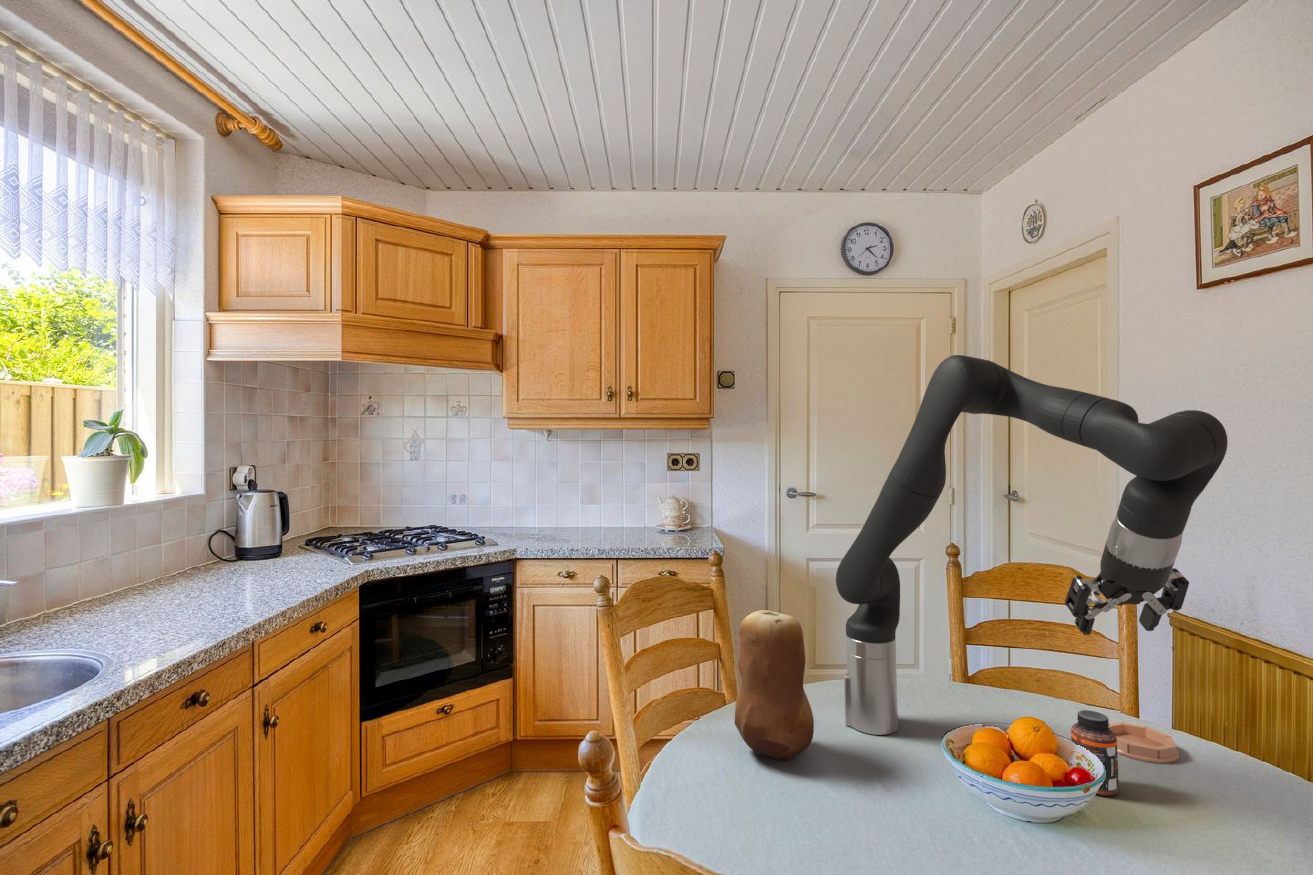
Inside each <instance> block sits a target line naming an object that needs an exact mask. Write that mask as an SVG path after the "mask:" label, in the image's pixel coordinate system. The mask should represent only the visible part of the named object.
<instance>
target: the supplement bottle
mask: <svg viewBox="0 0 1313 875" xmlns="http://www.w3.org/2000/svg"><path fill="white" fill-rule="evenodd" d="M1076 719H1077V722H1075V723H1074V724H1072V726H1071V729H1070V738H1071V740H1070V741H1072V742H1074V743H1075V744H1076V745H1080V746H1082V747H1084V748H1086V750H1089V751H1090V752H1091V753H1092V754H1094V755H1096V756H1097V757H1098V758H1099V759H1100V761H1101V762H1102V763H1103V765H1104V766H1105V770H1106V778H1105V780H1104V782H1103V784H1102V785H1101V786H1100V788H1099V790H1098V794H1096V795H1098V796H1105V797H1107V796H1108V797H1109V796H1115V795H1117V794H1118V793H1119V787H1120V785H1119V784H1120V783H1119V782H1120V781H1119V760H1118V757H1119V756H1118V755H1119V754H1118V753H1117V738H1116V735H1115V734H1114V732H1113V731H1111V730H1110V728H1109V727H1108V726H1109V717H1108V716H1107V715H1105V714H1103V713H1101V712H1099V711H1095V710H1094V711H1093V710H1087V709H1082V710H1078V711H1077V718H1076Z"/></svg>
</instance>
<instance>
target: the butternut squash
mask: <svg viewBox="0 0 1313 875" xmlns="http://www.w3.org/2000/svg"><path fill="white" fill-rule="evenodd" d="M739 641H740V642H739V644H740V645H739V646H740V647H739V654H740V655H739V659H738V663H737V668H738V672H739V675H740V680H741V681H740V686H739V691H738V692H737V695H736V700H735V706H734V707H735V708H734V725H735V727H736V729H737V731H738V733H739V734H740V737H741V739H742V740H743V741H744V743H745V744H746V745H747V747H749V749H750V750H752V751H753V752H756V753H758V754H761V755H765V756H767V757H770V758H771V759H772V758H773V759H772V760H775V759H780V760H779V761H781V760H782V761H783V760H784V761H788V760H789V759H790V758H792V757H795V756H797V755H800V754H802V753H803V752H805V751H806V750H807V749H808V748H809V746H811V743H812V741H813V738H814V733H815V732H814V730H815V725H814V724H815V721H814V719H815V718H814V714H813V709H812V707H811V704H810V702H809V699H808V696H807V694H806V691H805V689H804V677H805V676H804V674H805V670H806V669H805V668H806V650H805V642H804V641H805V640H804V632H803V628H802V625H801V623H800V621H798V620H797V618H795V617H793V616H792V615H788V614H785V613H782V612H781V613H780V612H777V611H773V610H770V609H769V610H767V609H762V610H756V611H754V612H753V611H752V612H751V613H750V614H748V615H747V616H746V617H744V618H743V620H742V621H741V624H740V628H739Z"/></svg>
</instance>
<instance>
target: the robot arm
mask: <svg viewBox="0 0 1313 875" xmlns="http://www.w3.org/2000/svg"><path fill="white" fill-rule="evenodd" d="M961 413H965V414H972V415H979V414H980V415H984V414H986V415H993V416H1000V417H1010V418H1014V419H1017V420H1021V421H1024V422H1026V423H1029V424H1031V425H1033V426H1035V427H1037V428H1038V429H1041V430H1042V431H1044V432H1045V433H1047V434H1050V435H1052V436H1055V438H1056V437H1057V438H1060V439H1061V440H1065V441H1068V442H1070V443H1074V444H1076V445H1079V446H1083V447H1085V448H1088V449H1091V450H1096V451H1097V452H1098V453H1100V454H1101V455H1103V456H1104V457H1105V458H1107V459H1109V460H1110V461H1111V462H1113V463H1115V464H1116V465H1117V466H1119V467H1120V468H1122V469H1124V471H1125V470H1126V471H1127V472H1128V473H1130V474H1132V475H1134V476H1135V477H1134V478H1132V479H1131V480H1130V481H1128V483H1127V484H1126V485H1125V488H1124V489H1123V492H1122V495H1121V497H1120V501H1119V504H1118V508H1117V512H1116V515H1115V516H1114V519H1113V521H1112V523H1111V525H1110V528H1109V530H1108V534H1107V538H1106V541H1105V545H1104V548H1103V551H1102V555H1101V559H1100V566H1099V567H1100V572H1099V573H1098V575H1097V576H1095V578H1094V579H1084V578H1083V577H1082V575H1075V576H1073V578H1072V580H1071V583H1070V586H1069V589H1068V591H1067V594H1066V597H1065V600H1064V604H1065V606H1066V607H1067V609H1068V610H1069V611H1070V613H1071V615H1072V616H1073V617H1074V618H1075V620H1074V624H1075V626H1076V628H1077V629H1078V630H1079V632H1081V633H1082V635H1083V636H1088V635H1089V636H1090V635H1091V633H1092V629H1093V626H1094V624H1095V620H1096V619H1095V617H1097V616H1098V615H1100V614H1101V613H1102V612H1104V613H1108V612H1109V611H1111V610H1113V609H1114V608H1115V607H1118V606H1124V605H1140V604H1141V603H1143V602H1146V603H1144V604H1143V608H1142V610H1141V613H1140V615H1139V618H1138V621H1139V623H1140V625H1141V626H1142V627H1143V628H1144V630H1145V631H1146V632H1153V631H1154V630H1155V628H1156V627H1157V626H1158V625H1160V624H1159V623H1160V622H1161V619H1162V616H1163V615H1165V614H1167V611H1169V610H1172V611H1174V612H1177V611H1180V610H1182V607H1183V605H1184V601H1185V598H1186V596H1187V592H1188V589H1189V585H1190V581H1189V580H1188V579H1187V578H1186V577H1185V576H1184V575H1183V574H1182V573H1181V571H1180V570H1178V569H1177V568H1175V567H1174V565H1175V562H1176V560H1177V557H1178V554H1179V551H1180V549H1181V546H1182V541H1183V536H1184V535H1183V534H1184V530H1185V528H1186V525H1187V523H1188V520H1189V518H1190V515H1191V511H1192V507H1193V505H1194V503H1195V502H1196V500H1197V499H1198V498H1199V496H1200V495H1201V494H1202V493H1203V491H1204V490H1205V489H1206V487H1207V486H1208V484H1209V483H1210V481H1211V480H1212V479H1213V477H1214V476H1215V474H1216V473H1217V471H1218V470H1219V468H1220V466H1221V465H1222V462H1223V461H1224V459H1225V457H1226V453H1227V449H1228V435H1227V431H1226V429H1225V427H1224V425H1223V424H1222V422H1221V421H1220V420H1219V419H1218V418H1216V417H1215V416H1214V415H1212V414H1211V413H1208V412H1206V411H1202V410H1197V409H1189V410H1188V409H1187V410H1183V411H1182V410H1181V411H1177V412H1173V413H1172V414H1168V415H1166V416H1164V417H1162V418H1159V419H1158V420H1154V421H1152V422H1149V423H1144V422H1140V421H1139V415H1138V412H1137V411H1136V409H1135V408H1134V407H1133V406H1131V405H1130V404H1127V403H1126V402H1123V401H1120V400H1115V399H1112V398H1109V397H1104V396H1101V395H1097V394H1092V393H1089V392H1085V391H1080V390H1075V389H1071V388H1065V387H1059V386H1054V385H1049V384H1044V383H1041V382H1039V381H1035V380H1032V379H1029V378H1027V377H1025V376H1022V375H1021V374H1019V373H1016V372H1014V371H1012V370H1009V369H1008V368H1006V367H1004V366H1002V365H1000V364H998V363H996V362H993V361H991V360H988V359H984V358H979V357H973V356H969V355H961V354H954V355H951V356H948V357H946V358H945V359H943V361H941V362H940V363H939V365H937V367H936V369H935V370H934V372H933V374H932V375H931V377H930V380H929V382H928V384H927V386H926V389H925V392H924V395H923V398H922V400H921V403H920V406H919V408H918V411H917V414H916V417H915V419H914V422H913V424H912V426H911V429H910V431H909V434H908V435H907V437H906V439H905V441H904V444H903V446H902V449H901V450H900V453H899V455H898V457H897V459H896V461H895V463H894V464H893V466H892V468H891V469H890V471H889V474H888V475H887V478H886V480H885V482H884V483H883V486H882V488H881V490H880V492H879V494H878V497H877V498H876V500H875V502H874V504H873V507H872V509H871V510H870V512H869V514H868V516H867V518H866V520H865V522H864V524H863V526H862V528H861V530H860V532H859V533H858V534H857V536H856V538H855V540H854V541H853V542H852V544H851V545H850V547H849V548H848V550H847V552H846V553H845V554H844V556H843V558H842V559H841V561H840V563H839V565H838V567H837V570H836V574H835V584H836V589H837V593H838V594H839V596H840V597H841V598H842V599H843V600H844V601H845V602H847V603H849V604H852V605H858V606H857V608H856V610H855V611H854V613H853V614H852V615H851V616H850V617H848V618H847V620H846V622H845V640H846V641H845V642H846V645H845V646H846V648H845V650H846V674H845V675H844V679H843V681H844V713H845V714H844V715H845V716H844V717H845V722H844V723H845V726H847V727H851V728H853V729H855V730H857V731H859V732H861V733H864V734H870V735H874V736H875V735H876V736H877V735H879V736H883V735H885V736H887V735H890V734H894V733H895V732H897V731H898V729H899V722H898V721H899V713H898V711H899V710H898V679H897V677H898V676H897V643H896V641H897V639H896V632H897V631H896V630H897V628H898V626H899V623H900V616H901V615H900V614H901V613H900V612H901V579H900V573H899V570H898V567H897V566H896V564H895V562H894V561H893V559H892V558H890V557H891V555H893V554H892V553H893V552H894V551H895V550H896V549H897V548H898V547H899V546H900V545H901V544H902V543H903V542H904V541H905V540H906V539H907V538H908V537H909V536H911V535H912V534H913V533H914V531H916V530H917V529H918V528H919V527H920V526H921V525H922V524H923V523H924V522H925V520H927V518H928V517H929V515H931V513H932V511H933V509H934V507H935V505H936V503H937V502H938V500H939V498H940V497H941V494H942V492H943V490H944V488H945V486H946V480H947V465H946V463H947V462H946V443H947V441H948V437H949V435H950V433H951V431H952V429H953V427H954V424H955V423H956V421H957V419H958V418H959V416H960V415H961ZM1173 567H1174V568H1173ZM1161 589H1162V592H1161V596H1160V597H1156V596H1155V594H1157V593H1158V592H1160V591H1161ZM1101 594H1102V595H1103V597H1104V598H1106V601H1103V600H1102V598H1101V596H1100V595H1101ZM1093 603H1094V606H1093V607H1091V608H1090V605H1091V604H1093Z"/></svg>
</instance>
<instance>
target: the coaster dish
mask: <svg viewBox="0 0 1313 875" xmlns="http://www.w3.org/2000/svg"><path fill="white" fill-rule="evenodd" d="M1108 727H1109V728H1110V730H1111V731H1113V732H1114V734H1115V735H1116V738H1117V755H1121V756H1124V757H1126V758H1129V759H1133V760H1137V761H1141V762H1147V763H1151V764H1171V763H1175V762H1177V761H1179V759H1180V751H1179V750H1178V746H1177V743H1176V742H1175V740H1174V738H1173V736H1171V735H1169V734H1166V733H1165V732H1162V731H1159V730H1157V729H1155V728H1152V727H1150V726H1148V727H1147V725H1142V724H1141V725H1140V724H1134V723H1130V722H1123V721H1117V722H1116V721H1115V722H1110V723H1109V726H1108Z"/></svg>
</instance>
